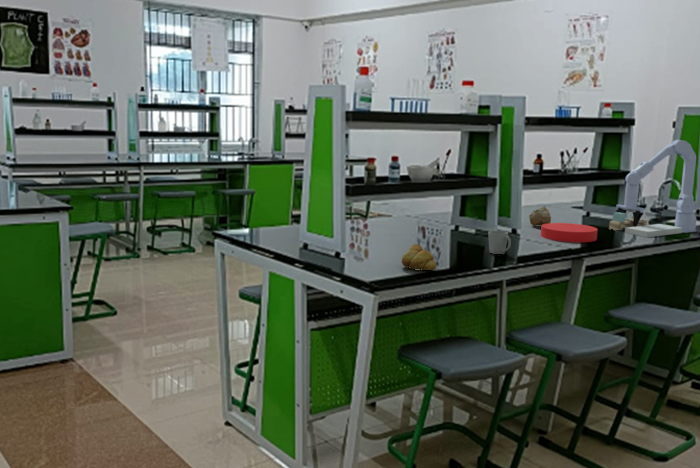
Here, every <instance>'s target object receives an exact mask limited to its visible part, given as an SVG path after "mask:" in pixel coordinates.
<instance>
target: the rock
mask: <svg viewBox="0 0 700 468" xmlns="http://www.w3.org/2000/svg"><path fill="white" fill-rule="evenodd" d="M528 217H529V223H530V225H532V226H533V227H538V226H542V225H543V224H548V223H552V221H551V220H552V216H551V214H550V212H549V210H548V209H547V207H546V206H541V207H540V208H539V209H534V210H533V211H532V212H531V213H530V214H529V216H528Z"/></svg>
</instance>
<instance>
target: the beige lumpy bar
mask: <svg viewBox="0 0 700 468" xmlns="http://www.w3.org/2000/svg"><path fill="white" fill-rule="evenodd" d="M633 220H634V219H633V218H628V219H626V218H625V222H616V221H613V220H609V225H608V230H611V229H613V231H616V230H620V231H623V229H625V228H627V227H635V226H633ZM645 225H648V219H647V218H645V220H639V222H638V225H637V226H645Z"/></svg>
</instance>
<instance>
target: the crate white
mask: <svg viewBox="0 0 700 468" xmlns="http://www.w3.org/2000/svg"><path fill="white" fill-rule="evenodd" d="M633 212H636V211H632V213H633ZM643 213H644V214H643V215H642V217H641V218H640V220H645V219H646V211H644V212H643Z"/></svg>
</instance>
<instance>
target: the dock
mask: <svg viewBox="0 0 700 468" xmlns="http://www.w3.org/2000/svg"><path fill="white" fill-rule="evenodd" d="M624 229H625V230H624V233H625V234H628V235H634V236H639V237H643V238H644V237H645V238H651V237H659V236H661V237H662V236H668V235H678V234H683V232H682V229H683V228H681V227H675V225H669V224H664V223H663V224H662V223H656V224H647V225H645V226H636V227H627V228H624Z"/></svg>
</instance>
